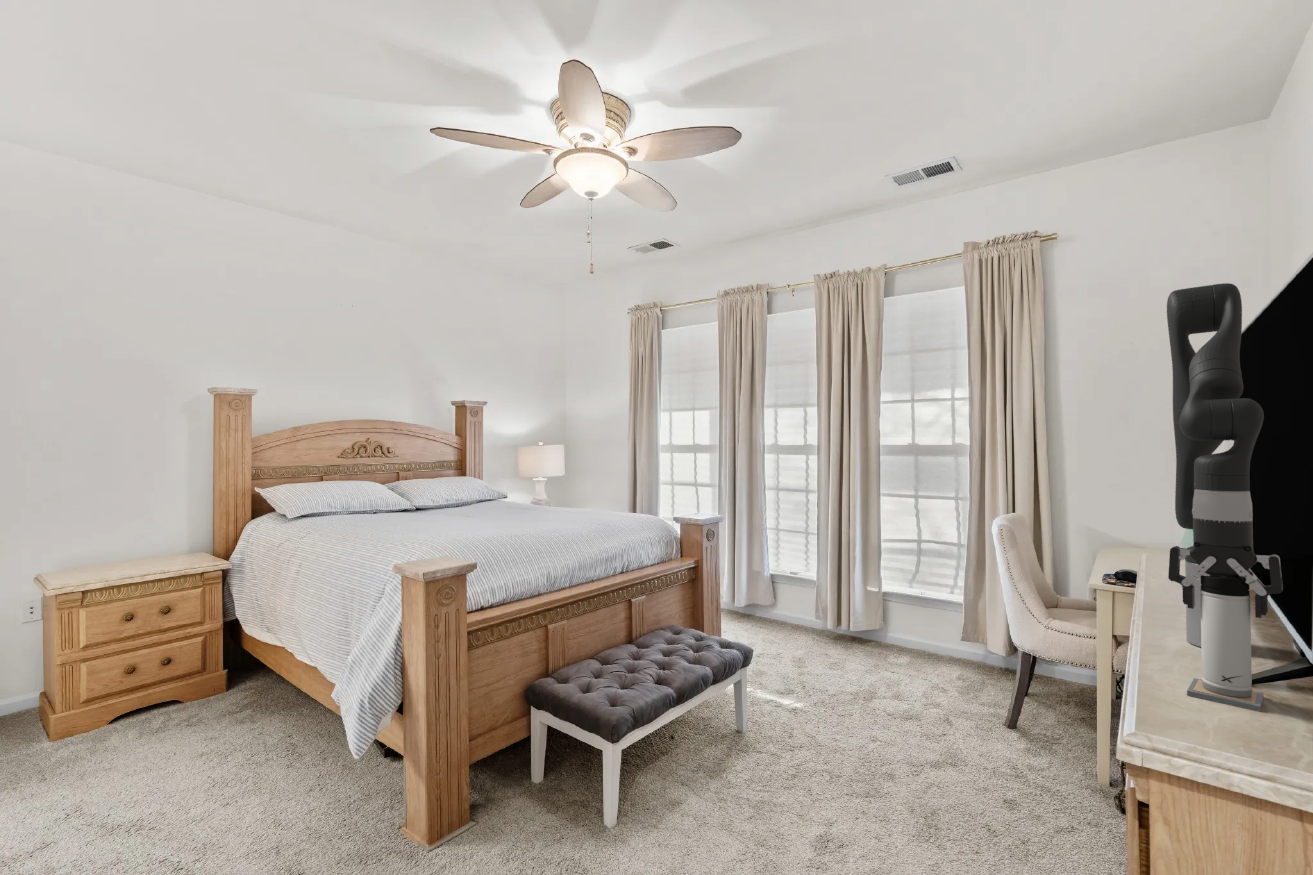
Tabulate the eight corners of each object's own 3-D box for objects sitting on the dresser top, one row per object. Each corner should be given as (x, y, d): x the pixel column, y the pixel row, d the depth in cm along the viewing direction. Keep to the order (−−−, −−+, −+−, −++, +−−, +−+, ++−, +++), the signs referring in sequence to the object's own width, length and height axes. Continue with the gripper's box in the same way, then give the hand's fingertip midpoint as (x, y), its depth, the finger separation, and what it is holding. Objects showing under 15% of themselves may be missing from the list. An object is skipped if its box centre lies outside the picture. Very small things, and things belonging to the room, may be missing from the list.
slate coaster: (1194, 682, 112) (1194, 677, 112) (1264, 697, 106) (1263, 691, 106) (1187, 695, 107) (1186, 689, 107) (1260, 711, 100) (1260, 705, 100)
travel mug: (1236, 700, 102) (1234, 577, 102) (1192, 685, 108) (1190, 570, 109) (1264, 696, 104) (1261, 575, 104) (1219, 681, 110) (1217, 567, 110)
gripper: (1282, 517, 104) (1284, 616, 104) (1172, 511, 114) (1173, 600, 114) (1279, 522, 99) (1281, 625, 98) (1164, 515, 109) (1166, 608, 109)
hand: (1223, 612), depth 106 cm, fingers open, 8 cm apart
